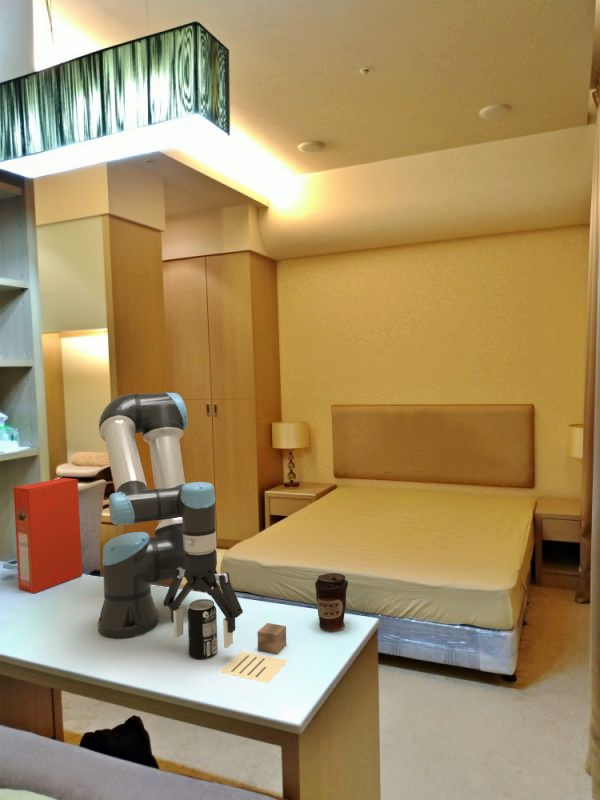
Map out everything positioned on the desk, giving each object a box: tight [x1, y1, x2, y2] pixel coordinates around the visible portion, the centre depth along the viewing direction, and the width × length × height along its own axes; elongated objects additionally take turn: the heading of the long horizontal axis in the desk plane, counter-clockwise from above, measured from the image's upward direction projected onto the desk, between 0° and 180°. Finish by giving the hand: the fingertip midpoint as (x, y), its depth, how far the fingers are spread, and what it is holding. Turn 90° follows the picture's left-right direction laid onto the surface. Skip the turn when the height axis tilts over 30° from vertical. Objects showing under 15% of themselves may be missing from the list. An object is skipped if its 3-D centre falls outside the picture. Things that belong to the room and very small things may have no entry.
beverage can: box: [187, 598, 219, 660], centre depth 133 cm, size 7×7×12 cm
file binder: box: [12, 477, 83, 594], centre depth 182 cm, size 8×17×32 cm, turn 149°
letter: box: [219, 650, 289, 684], centre depth 126 cm, size 12×10×1 cm
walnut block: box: [256, 622, 287, 655], centre depth 135 cm, size 5×5×5 cm
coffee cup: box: [314, 572, 349, 632], centre depth 145 cm, size 9×8×13 cm
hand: (203, 640), depth 133 cm, fingers open, 13 cm apart
